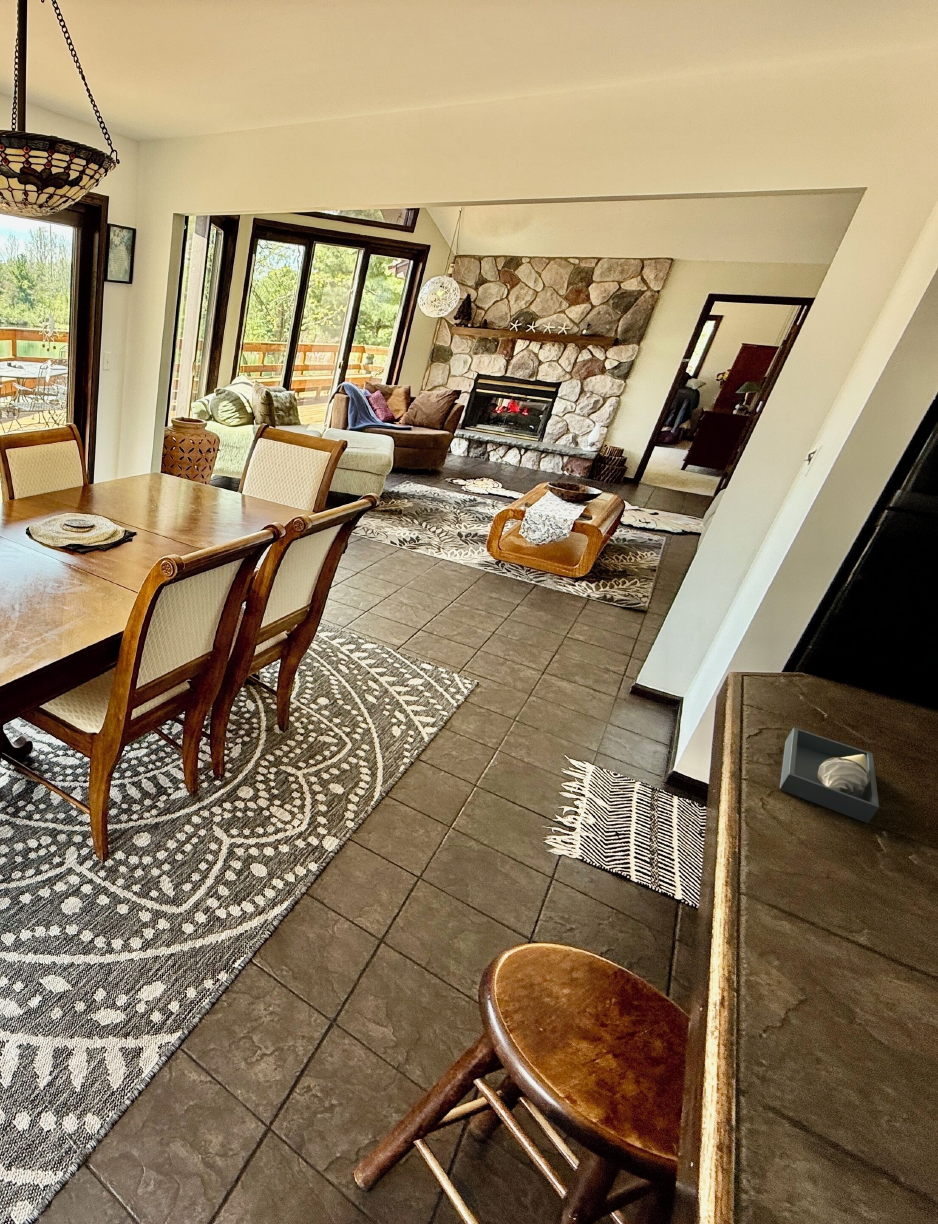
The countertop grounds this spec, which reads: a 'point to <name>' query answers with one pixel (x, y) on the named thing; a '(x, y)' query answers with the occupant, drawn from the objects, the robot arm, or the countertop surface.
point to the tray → (803, 781)
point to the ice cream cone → (845, 773)
